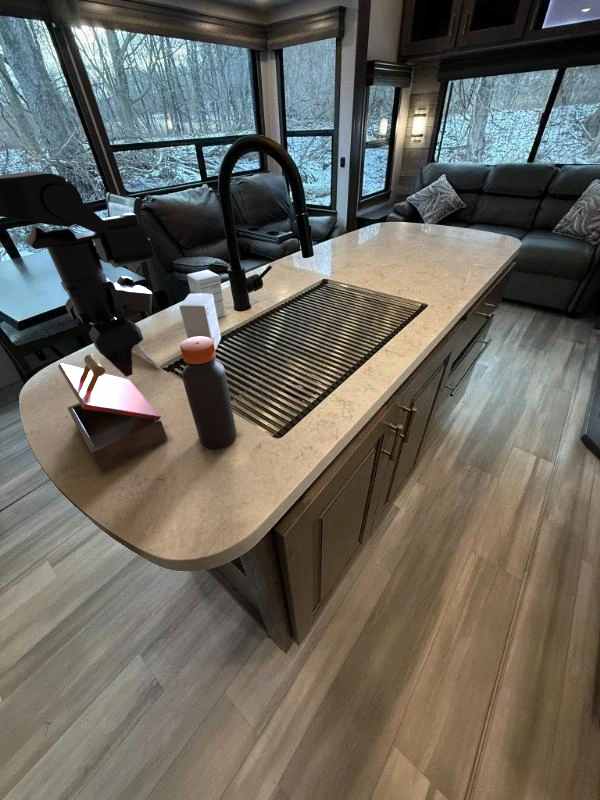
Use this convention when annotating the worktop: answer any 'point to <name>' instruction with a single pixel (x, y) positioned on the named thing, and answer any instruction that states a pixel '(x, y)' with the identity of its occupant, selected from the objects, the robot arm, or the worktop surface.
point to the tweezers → (145, 355)
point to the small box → (200, 317)
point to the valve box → (116, 435)
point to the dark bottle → (208, 393)
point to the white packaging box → (208, 288)
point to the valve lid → (106, 390)
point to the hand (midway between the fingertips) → (119, 364)
